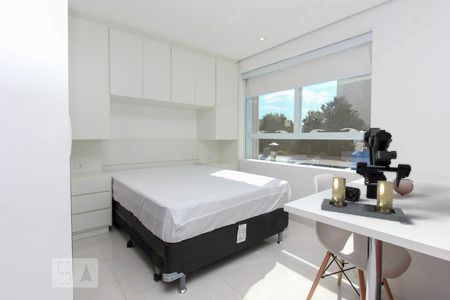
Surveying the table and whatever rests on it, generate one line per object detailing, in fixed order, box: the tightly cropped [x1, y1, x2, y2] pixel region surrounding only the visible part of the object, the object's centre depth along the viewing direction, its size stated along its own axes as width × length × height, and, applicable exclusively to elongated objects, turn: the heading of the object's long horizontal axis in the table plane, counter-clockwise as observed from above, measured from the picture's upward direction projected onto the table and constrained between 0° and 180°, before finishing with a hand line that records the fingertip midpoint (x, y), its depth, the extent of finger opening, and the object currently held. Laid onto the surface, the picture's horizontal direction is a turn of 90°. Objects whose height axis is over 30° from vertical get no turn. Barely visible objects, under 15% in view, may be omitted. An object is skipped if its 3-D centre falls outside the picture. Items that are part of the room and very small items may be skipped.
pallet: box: [320, 198, 408, 225], centre depth 91 cm, size 28×12×2 cm, turn 61°
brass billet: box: [376, 180, 394, 213], centre depth 87 cm, size 5×5×13 cm
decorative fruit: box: [391, 178, 415, 196], centre depth 118 cm, size 9×8×10 cm
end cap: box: [345, 185, 362, 202], centre depth 110 cm, size 10×7×7 cm
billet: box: [331, 176, 347, 207], centre depth 94 cm, size 5×5×13 cm
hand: (383, 185), depth 90 cm, fingers open, 9 cm apart
